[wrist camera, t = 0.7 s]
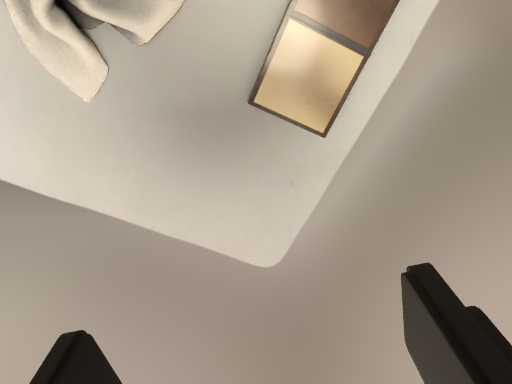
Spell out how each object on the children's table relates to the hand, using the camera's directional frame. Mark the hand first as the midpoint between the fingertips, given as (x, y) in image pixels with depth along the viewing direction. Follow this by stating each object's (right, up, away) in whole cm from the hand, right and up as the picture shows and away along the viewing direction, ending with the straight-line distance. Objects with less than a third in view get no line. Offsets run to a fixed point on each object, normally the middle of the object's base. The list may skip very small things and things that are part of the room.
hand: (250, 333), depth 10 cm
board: (+7, +20, +22) cm, 30 cm away
